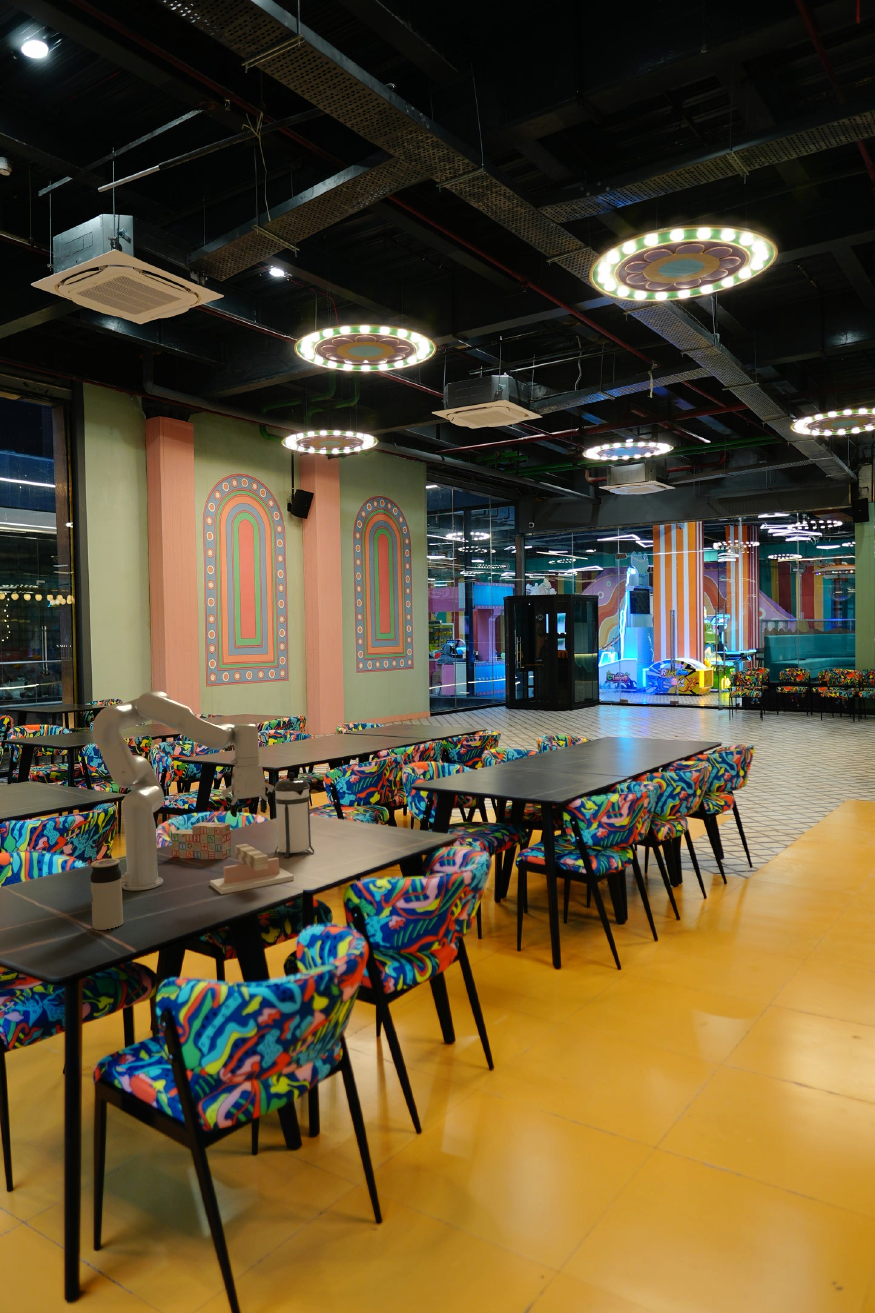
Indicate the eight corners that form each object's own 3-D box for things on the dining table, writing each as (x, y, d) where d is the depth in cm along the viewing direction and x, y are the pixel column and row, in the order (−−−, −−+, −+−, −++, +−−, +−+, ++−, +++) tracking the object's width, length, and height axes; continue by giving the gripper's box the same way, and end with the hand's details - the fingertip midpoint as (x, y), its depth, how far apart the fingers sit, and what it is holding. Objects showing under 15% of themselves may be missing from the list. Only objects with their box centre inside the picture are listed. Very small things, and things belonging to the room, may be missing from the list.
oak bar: (235, 857, 277) (235, 845, 277) (247, 855, 280) (246, 843, 279) (255, 870, 260) (255, 857, 260) (268, 868, 263) (267, 855, 262)
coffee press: (322, 848, 312) (319, 768, 312) (304, 859, 297) (301, 775, 296) (280, 846, 317) (277, 768, 317) (260, 857, 302) (257, 775, 301)
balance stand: (221, 894, 259) (220, 873, 259) (210, 885, 269) (209, 865, 269) (294, 880, 271) (293, 860, 271) (280, 872, 282) (279, 853, 281)
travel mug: (127, 920, 237) (124, 857, 236) (117, 930, 229) (114, 865, 228) (99, 921, 237) (96, 858, 236) (88, 931, 229) (85, 866, 228)
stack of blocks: (171, 858, 306) (170, 824, 306) (181, 853, 312) (179, 821, 312) (222, 860, 300) (221, 826, 300) (231, 856, 306) (230, 822, 306)
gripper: (224, 766, 262) (226, 820, 262) (276, 760, 271) (278, 812, 271) (217, 763, 268) (219, 816, 269) (268, 758, 277) (270, 809, 278)
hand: (248, 814), depth 270 cm, fingers open, 9 cm apart
